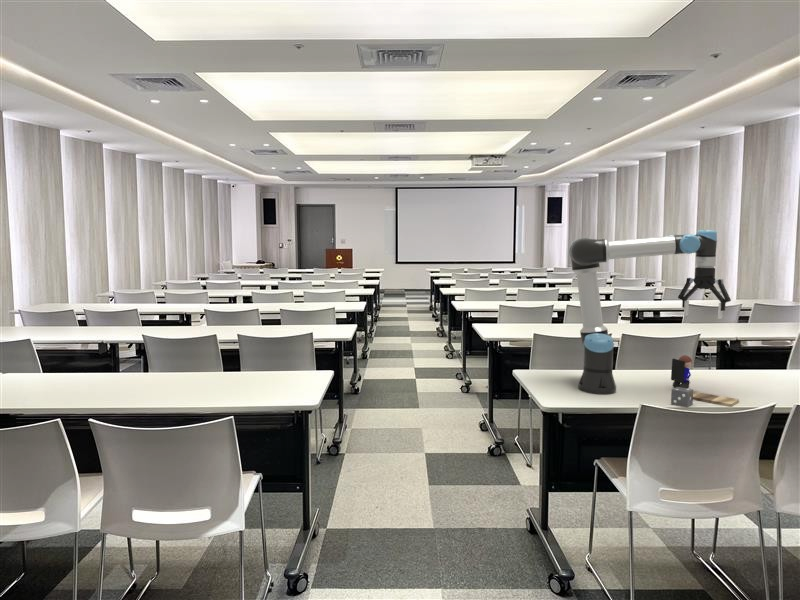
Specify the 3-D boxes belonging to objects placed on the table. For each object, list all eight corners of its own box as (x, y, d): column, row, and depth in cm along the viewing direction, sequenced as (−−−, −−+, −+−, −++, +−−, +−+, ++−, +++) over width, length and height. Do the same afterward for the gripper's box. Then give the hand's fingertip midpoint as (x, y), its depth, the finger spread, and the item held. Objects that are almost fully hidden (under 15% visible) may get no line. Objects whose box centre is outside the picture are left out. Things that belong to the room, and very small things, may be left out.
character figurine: (693, 392, 244) (695, 357, 242) (674, 392, 245) (676, 356, 243) (687, 388, 251) (688, 354, 250) (669, 387, 252) (670, 353, 251)
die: (670, 404, 226) (671, 389, 225) (676, 401, 230) (677, 386, 230) (687, 407, 222) (688, 392, 221) (692, 404, 226) (693, 389, 226)
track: (674, 396, 238) (674, 393, 238) (683, 392, 245) (683, 389, 245) (730, 406, 223) (731, 404, 223) (738, 401, 230) (739, 399, 230)
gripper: (671, 266, 251) (669, 315, 253) (734, 268, 233) (731, 320, 235) (678, 265, 256) (676, 313, 258) (741, 267, 238) (738, 319, 240)
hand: (702, 317), depth 247 cm, fingers open, 13 cm apart
